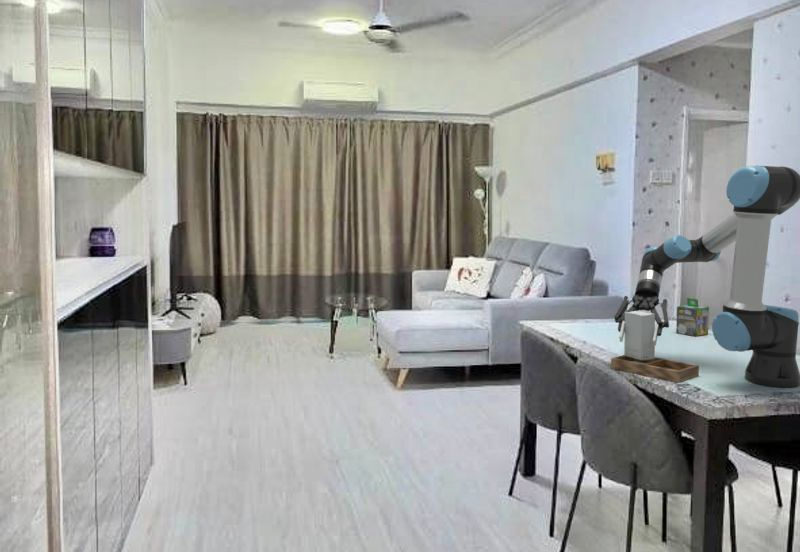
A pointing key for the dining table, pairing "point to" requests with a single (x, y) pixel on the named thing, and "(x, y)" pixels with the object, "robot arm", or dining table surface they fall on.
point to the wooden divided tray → (656, 368)
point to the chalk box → (692, 319)
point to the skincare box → (639, 335)
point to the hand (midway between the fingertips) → (637, 341)
